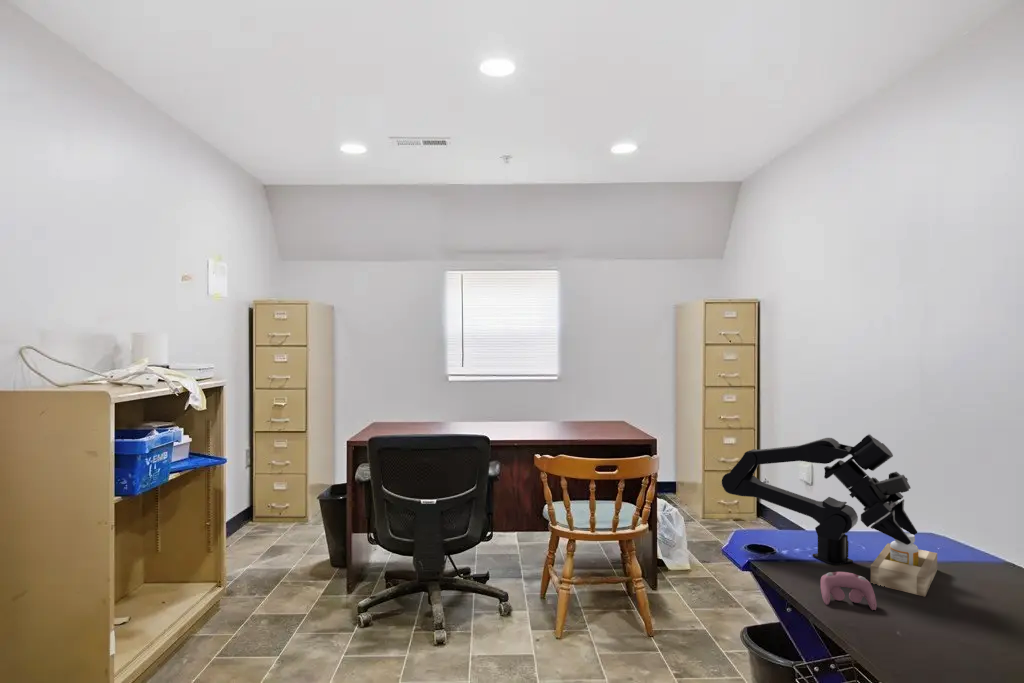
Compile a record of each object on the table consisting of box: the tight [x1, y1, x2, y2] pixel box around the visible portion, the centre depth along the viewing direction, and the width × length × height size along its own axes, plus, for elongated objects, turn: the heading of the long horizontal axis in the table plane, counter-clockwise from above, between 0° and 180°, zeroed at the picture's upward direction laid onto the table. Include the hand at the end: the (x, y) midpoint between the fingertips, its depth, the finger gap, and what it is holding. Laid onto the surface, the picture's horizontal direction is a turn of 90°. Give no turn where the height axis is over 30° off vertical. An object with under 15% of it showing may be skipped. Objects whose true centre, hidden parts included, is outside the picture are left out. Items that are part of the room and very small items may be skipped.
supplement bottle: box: [890, 531, 919, 566], centre depth 134 cm, size 5×5×10 cm
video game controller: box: [819, 571, 877, 611], centre depth 120 cm, size 10×5×7 cm, turn 72°
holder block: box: [870, 542, 938, 597], centre depth 134 cm, size 10×20×4 cm, turn 138°
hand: (912, 538), depth 133 cm, fingers open, 9 cm apart
